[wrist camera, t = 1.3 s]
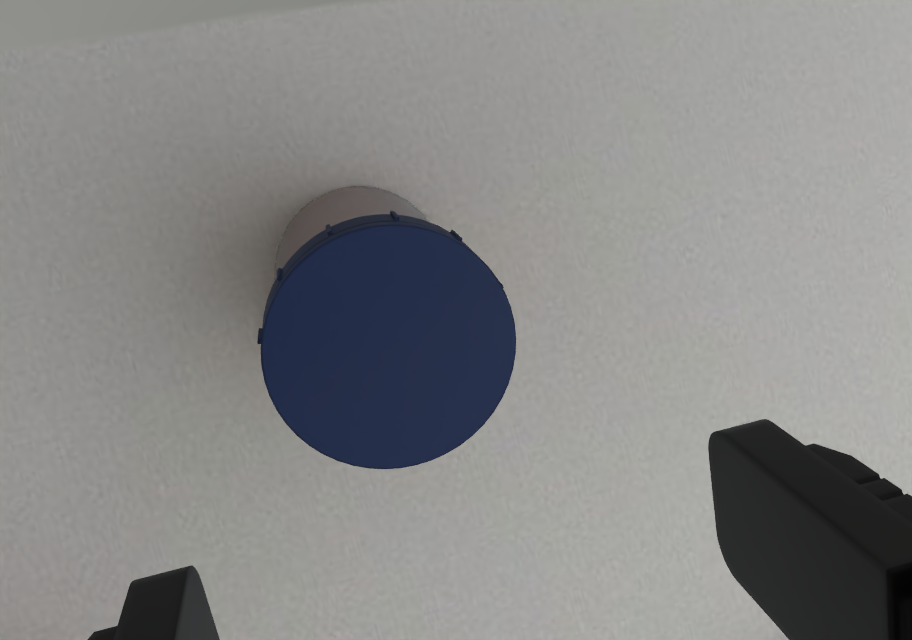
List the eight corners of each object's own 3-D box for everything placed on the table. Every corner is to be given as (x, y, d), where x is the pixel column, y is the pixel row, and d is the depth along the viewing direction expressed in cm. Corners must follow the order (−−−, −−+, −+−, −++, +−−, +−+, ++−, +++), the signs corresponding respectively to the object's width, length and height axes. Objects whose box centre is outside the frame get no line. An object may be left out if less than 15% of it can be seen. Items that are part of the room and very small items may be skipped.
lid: (479, 190, 21) (494, 200, 19) (517, 412, 23) (534, 436, 21) (235, 242, 20) (231, 256, 19) (293, 467, 22) (294, 496, 21)
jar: (425, 170, 28) (480, 208, 20) (455, 328, 29) (517, 421, 22) (256, 205, 27) (246, 259, 19) (296, 365, 29) (302, 474, 21)
